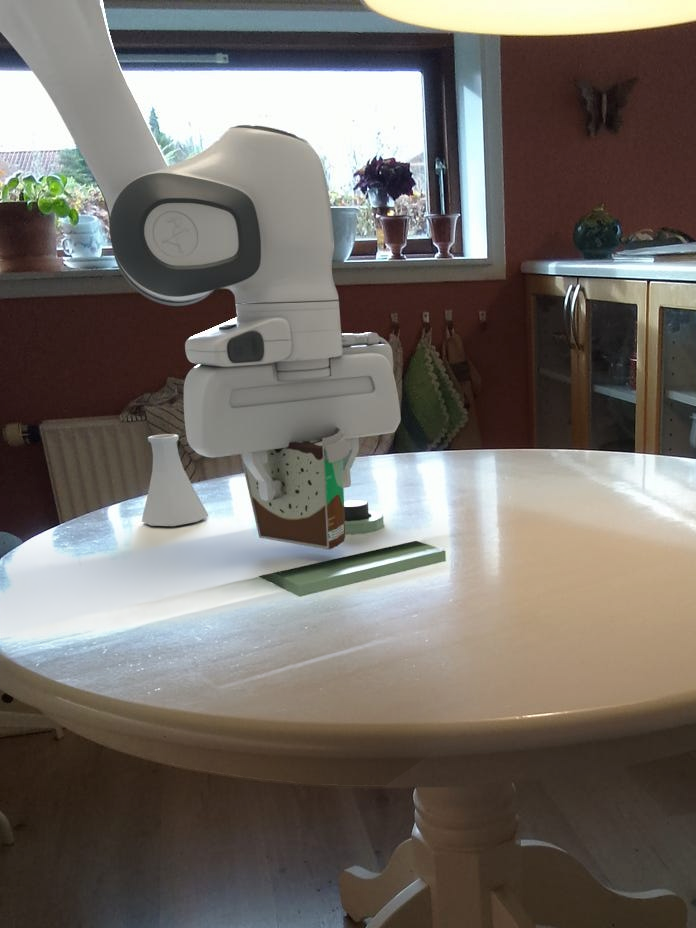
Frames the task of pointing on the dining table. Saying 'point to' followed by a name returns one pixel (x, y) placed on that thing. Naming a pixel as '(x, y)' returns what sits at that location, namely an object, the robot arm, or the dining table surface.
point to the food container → (303, 493)
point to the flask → (170, 487)
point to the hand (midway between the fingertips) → (306, 493)
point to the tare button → (356, 510)
